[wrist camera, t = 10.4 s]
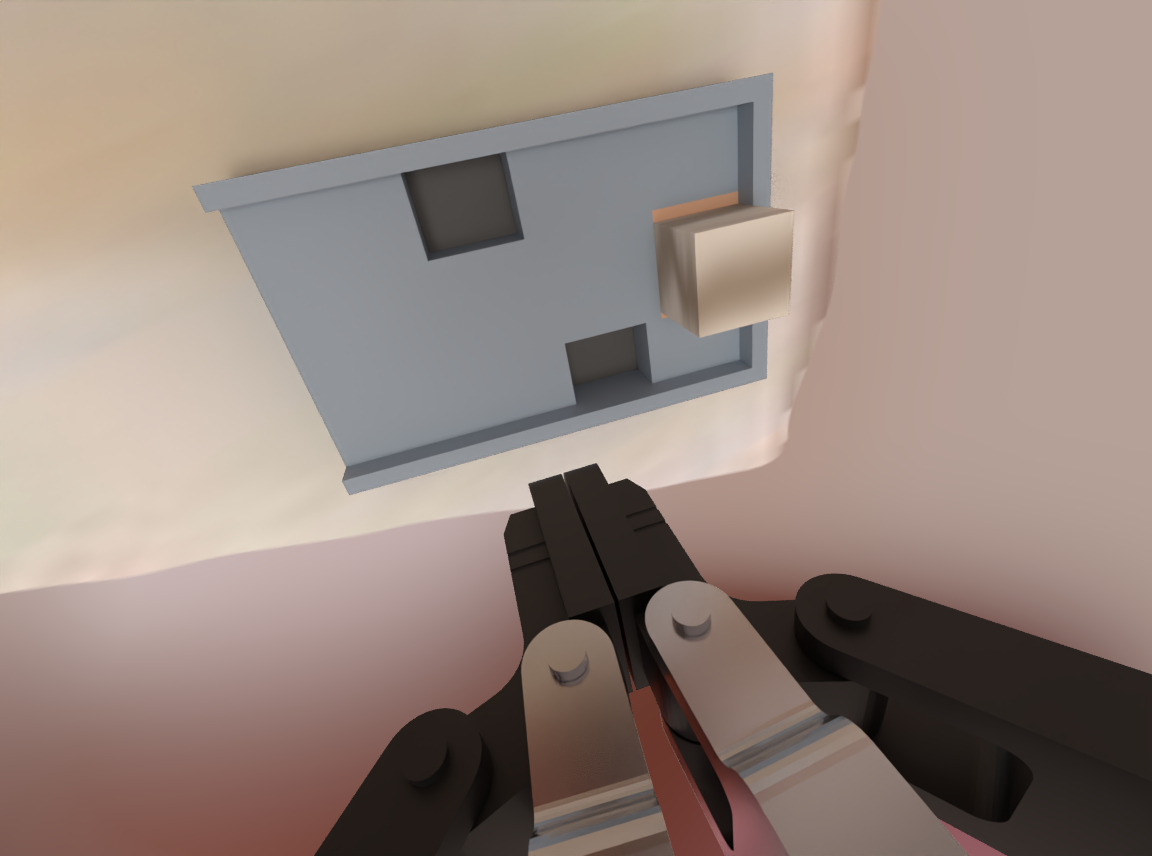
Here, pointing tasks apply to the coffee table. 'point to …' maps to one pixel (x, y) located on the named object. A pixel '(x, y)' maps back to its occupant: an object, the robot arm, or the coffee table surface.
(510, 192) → the track
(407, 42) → the coffee table surface
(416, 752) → the robot arm
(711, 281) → the cream cube
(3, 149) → the coffee table surface
